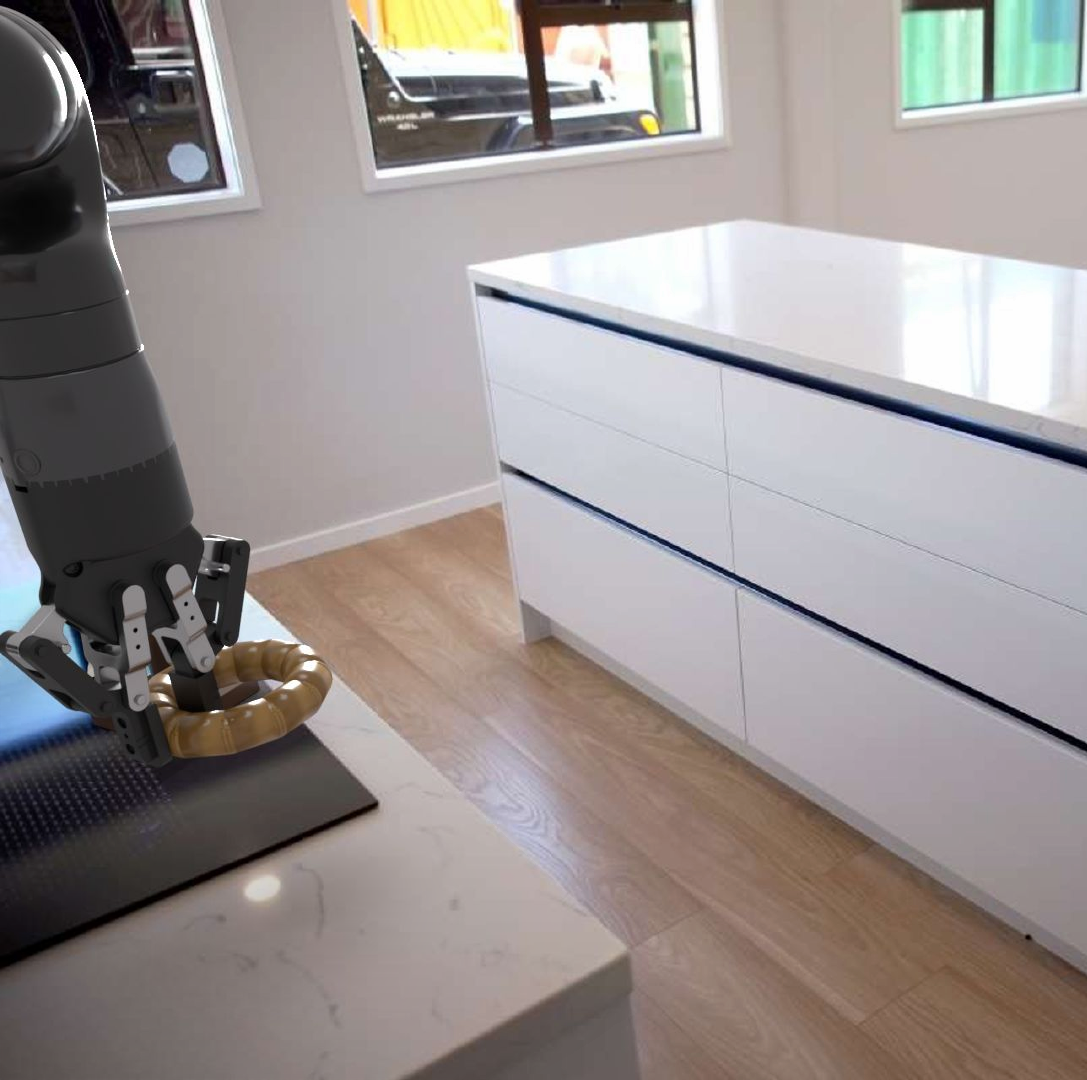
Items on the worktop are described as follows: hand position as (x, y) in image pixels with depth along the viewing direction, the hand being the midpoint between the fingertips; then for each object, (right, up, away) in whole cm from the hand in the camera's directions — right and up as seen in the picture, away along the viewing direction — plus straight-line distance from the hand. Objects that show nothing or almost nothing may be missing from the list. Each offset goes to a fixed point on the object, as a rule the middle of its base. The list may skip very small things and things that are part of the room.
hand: (178, 744), depth 67 cm
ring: (+2, +2, +3) cm, 4 cm away
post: (-18, -3, +35) cm, 39 cm away
